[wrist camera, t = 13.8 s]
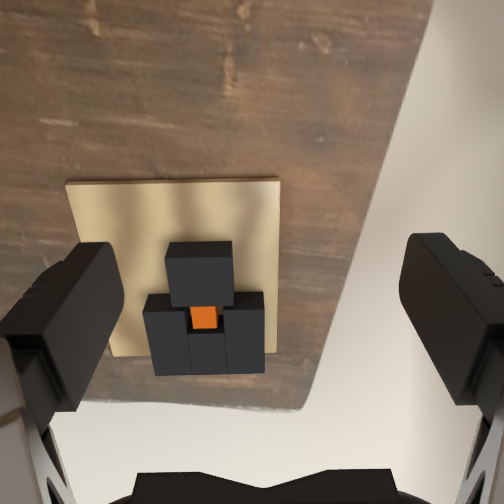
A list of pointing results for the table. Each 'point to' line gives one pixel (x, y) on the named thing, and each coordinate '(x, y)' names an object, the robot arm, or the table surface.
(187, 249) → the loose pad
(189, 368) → the dark grey u-shaped block
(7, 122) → the table surface
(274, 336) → the board
